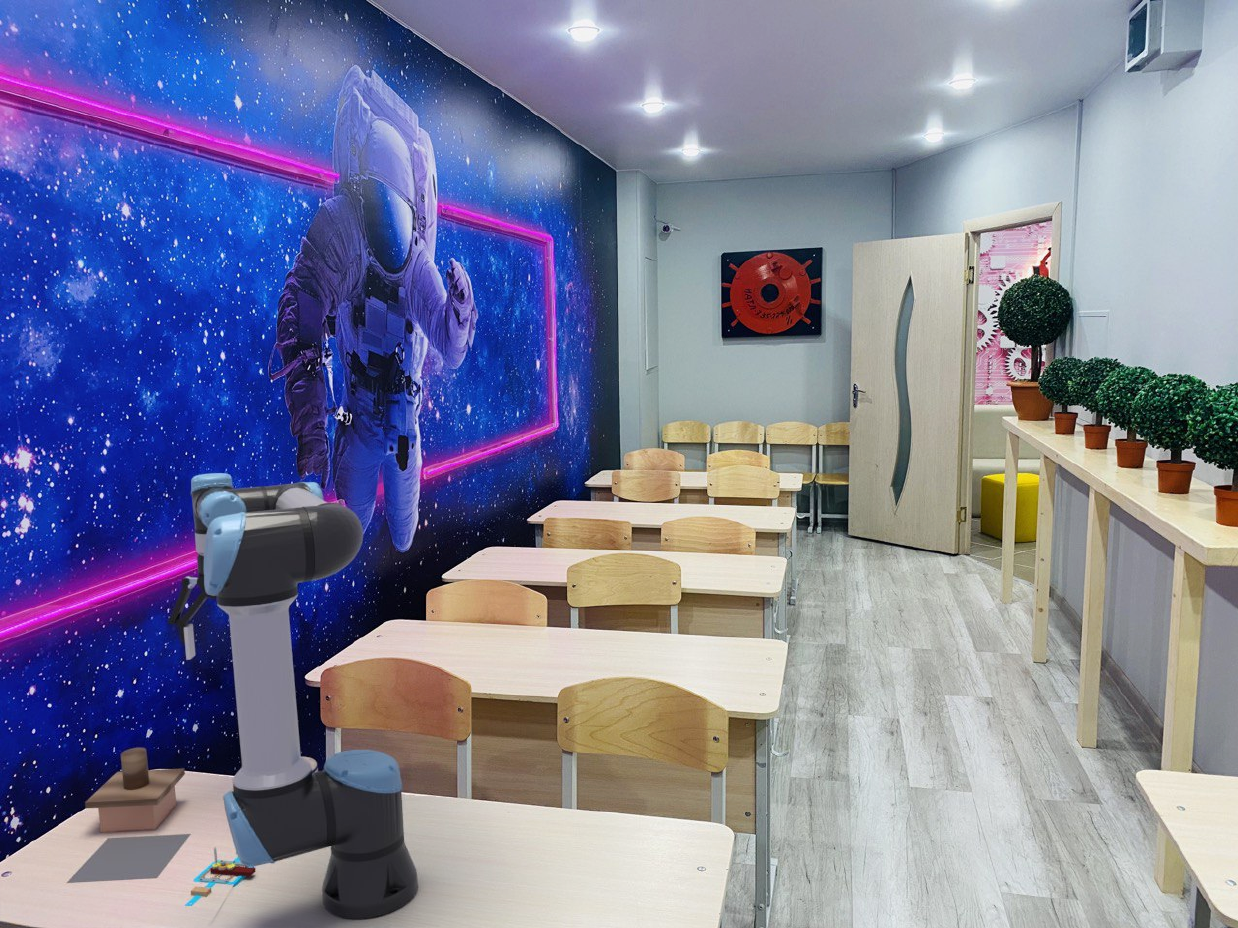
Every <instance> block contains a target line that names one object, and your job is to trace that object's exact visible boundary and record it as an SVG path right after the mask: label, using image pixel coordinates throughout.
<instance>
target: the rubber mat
mask: <svg viewBox="0 0 1238 928" xmlns="http://www.w3.org/2000/svg"><path fill="white" fill-rule="evenodd" d="M190 836H191V833H181V834H166V835H165V834H162V835H145V836H144V835H143V836H127V837H126V836H125V837H124V836H123V837H121V836H120V837H108V838H107V839H106V840H105V841H104V842H103V843H102V844H101V845H100V846H99V847H98V848H97V849H96V850H95V852H94V853H93V854H92V855H91V856H90V857H89V858H88V859H87V860H86V861H85V862H84V863H83V864H82V866H81V867H79V869H77V871H76V872H75V873H74V874H73V875H72V876H71V877H70V878H69V879H68V880H67V882H66V884H72V883H76V884H77V883H90V882H95V883H96V882H109V881H110V882H111V881H128V880H129V881H130V880H131V881H132V880H146V879H149V880H150V879H158V877H159V876H160V875H161V873H163V871H164V870H165V868H166V867H167V866H168V864H169V863H170V862H171V861H172V859H174V857H175V856H176V854H177V852H178V851H179V850H180V849H181V848H182V847H183V845H184V844H185V842H187V840H188V838H189V837H190Z"/></svg>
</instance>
